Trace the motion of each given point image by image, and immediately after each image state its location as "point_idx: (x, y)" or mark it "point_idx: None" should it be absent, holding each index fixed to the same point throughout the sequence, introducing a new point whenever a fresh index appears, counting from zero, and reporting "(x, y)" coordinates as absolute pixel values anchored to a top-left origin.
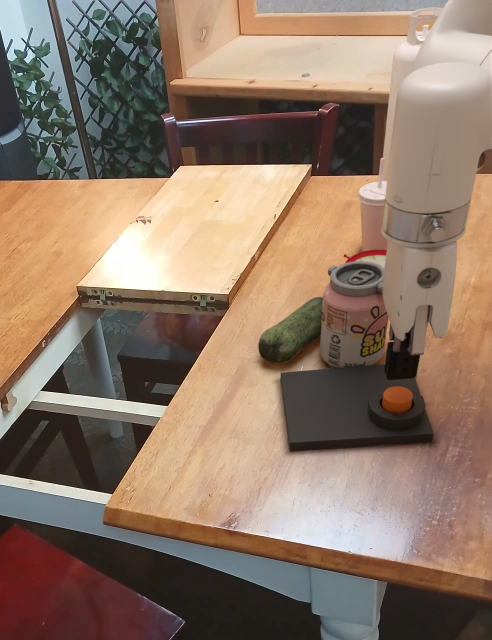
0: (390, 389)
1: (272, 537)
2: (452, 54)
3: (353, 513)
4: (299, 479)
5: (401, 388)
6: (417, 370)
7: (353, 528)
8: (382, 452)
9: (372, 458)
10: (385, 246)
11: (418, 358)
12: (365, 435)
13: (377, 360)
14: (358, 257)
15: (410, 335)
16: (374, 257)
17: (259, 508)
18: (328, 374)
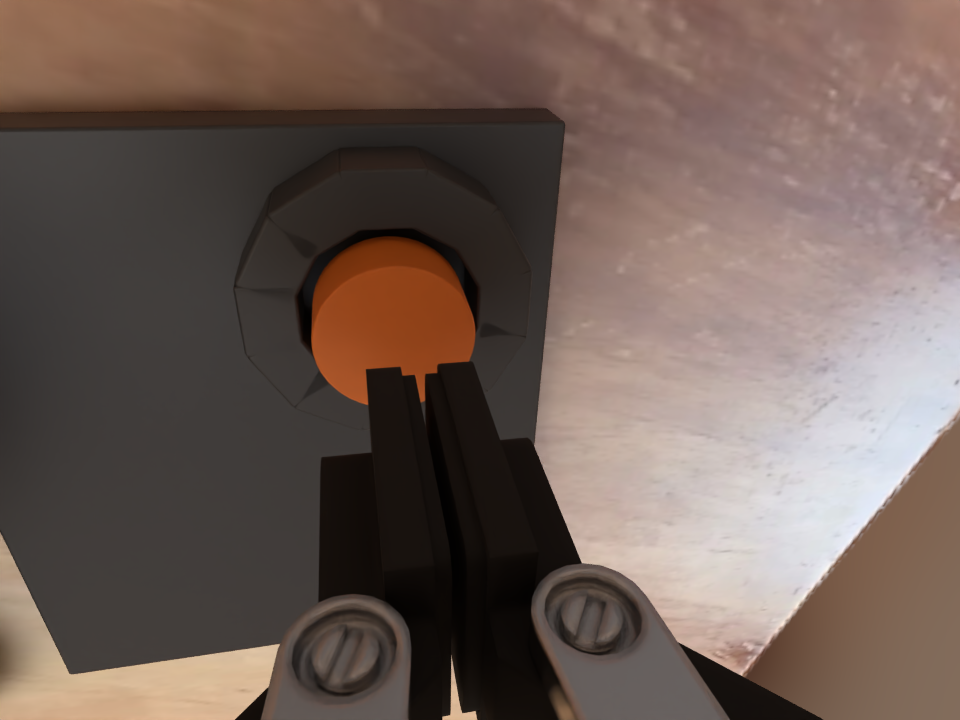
0: (343, 374)
1: (819, 579)
2: None
3: (819, 418)
4: (638, 545)
5: (336, 320)
6: (479, 388)
7: (872, 419)
8: (568, 318)
9: (594, 354)
10: None
11: (504, 469)
12: (525, 405)
13: None
14: None
15: (420, 701)
16: None
17: (717, 611)
18: (58, 532)
